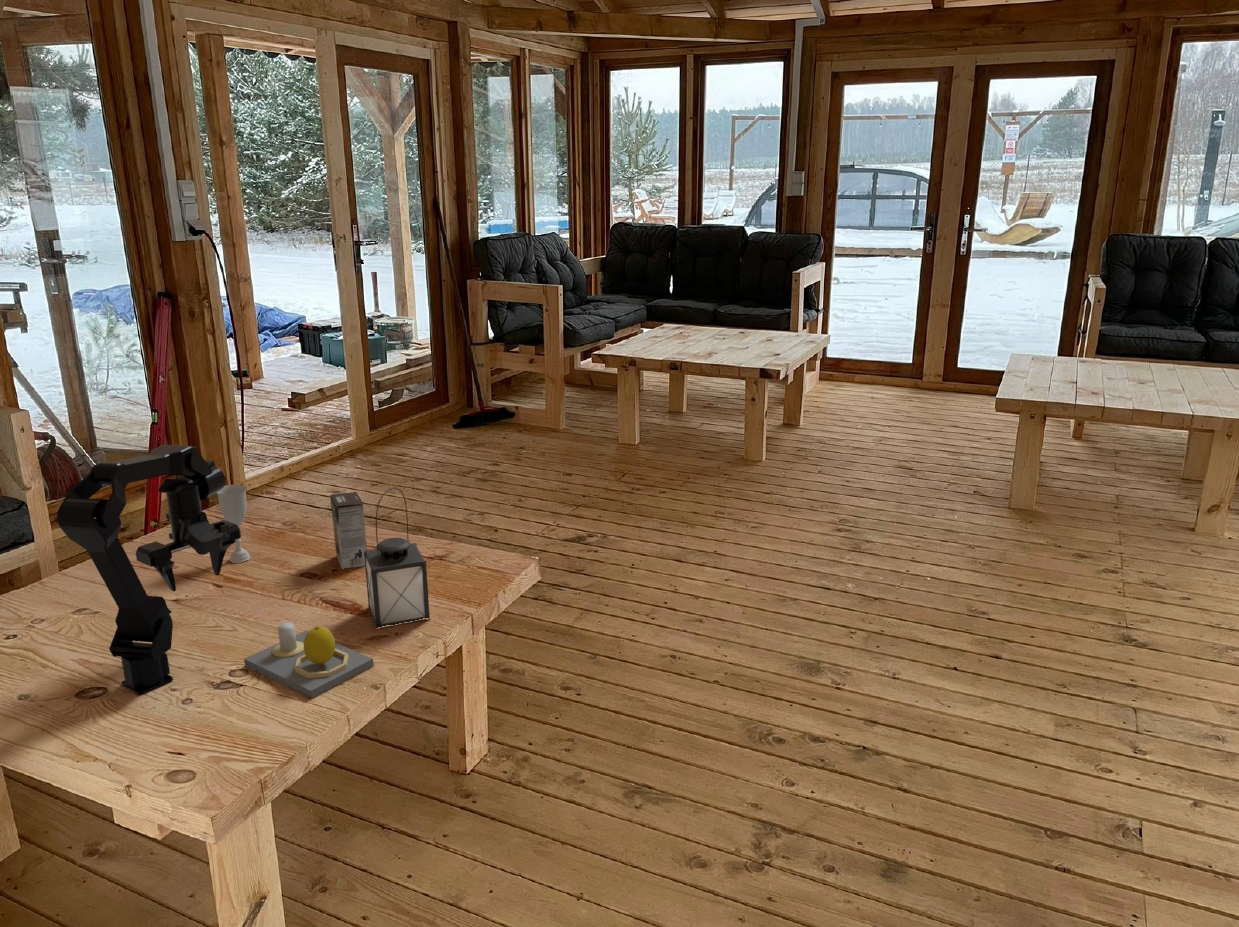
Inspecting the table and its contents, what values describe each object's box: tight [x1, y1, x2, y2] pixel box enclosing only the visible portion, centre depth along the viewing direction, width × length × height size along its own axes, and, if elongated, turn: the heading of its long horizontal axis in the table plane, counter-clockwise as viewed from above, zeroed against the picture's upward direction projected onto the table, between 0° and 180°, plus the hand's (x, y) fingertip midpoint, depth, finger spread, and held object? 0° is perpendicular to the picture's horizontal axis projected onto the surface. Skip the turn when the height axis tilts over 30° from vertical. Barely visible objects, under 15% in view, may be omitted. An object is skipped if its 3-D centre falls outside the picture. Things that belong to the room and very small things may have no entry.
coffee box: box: [329, 491, 368, 570], centre depth 220 cm, size 9×6×16 cm
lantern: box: [364, 487, 431, 629], centre depth 191 cm, size 11×11×28 cm
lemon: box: [304, 625, 336, 665], centre depth 170 cm, size 6×6×8 cm
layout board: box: [243, 622, 375, 699], centre depth 173 cm, size 14×20×6 cm
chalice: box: [216, 484, 252, 564], centre depth 221 cm, size 7×7×18 cm
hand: (195, 582), depth 181 cm, fingers open, 9 cm apart
